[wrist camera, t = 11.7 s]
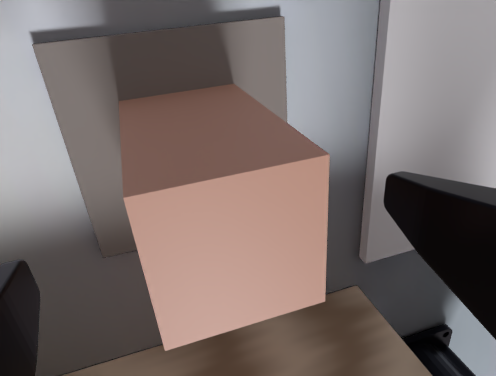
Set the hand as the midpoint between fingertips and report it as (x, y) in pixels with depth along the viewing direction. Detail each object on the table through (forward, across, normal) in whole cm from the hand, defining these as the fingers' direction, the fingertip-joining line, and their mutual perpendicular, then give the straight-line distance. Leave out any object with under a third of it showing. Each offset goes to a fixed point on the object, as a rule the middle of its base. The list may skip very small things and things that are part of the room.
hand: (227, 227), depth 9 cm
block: (+6, 0, 0) cm, 6 cm away
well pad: (+6, 0, 0) cm, 6 cm away
